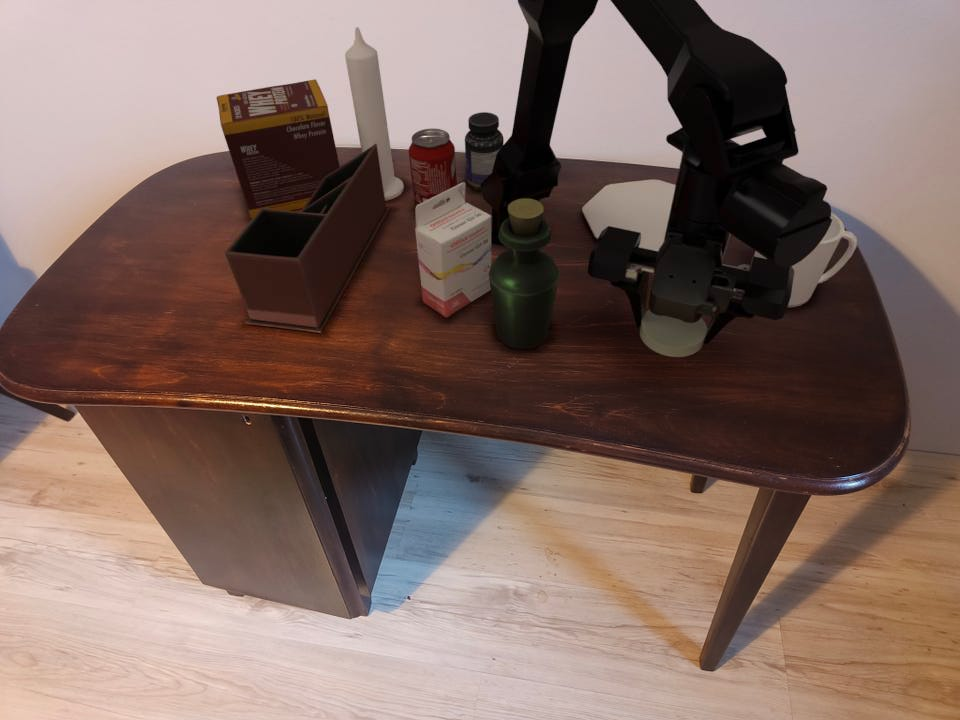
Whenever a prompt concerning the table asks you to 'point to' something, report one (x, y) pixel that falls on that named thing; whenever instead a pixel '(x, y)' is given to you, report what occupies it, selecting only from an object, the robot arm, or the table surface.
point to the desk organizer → (309, 248)
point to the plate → (632, 210)
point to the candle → (371, 109)
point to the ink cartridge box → (452, 251)
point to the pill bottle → (481, 147)
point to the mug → (819, 263)
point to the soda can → (432, 165)
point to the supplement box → (279, 143)
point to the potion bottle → (523, 277)
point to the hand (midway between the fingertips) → (671, 332)
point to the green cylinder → (672, 335)
